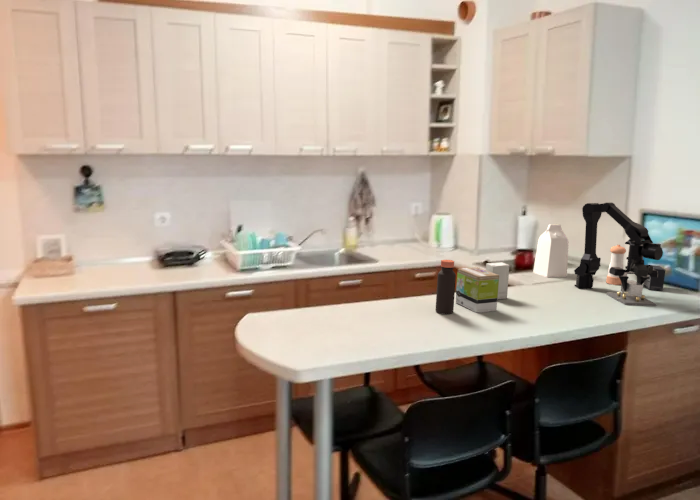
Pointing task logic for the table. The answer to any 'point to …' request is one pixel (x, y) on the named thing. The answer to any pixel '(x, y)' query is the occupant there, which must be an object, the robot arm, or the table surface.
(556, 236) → the milk
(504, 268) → the skincare box
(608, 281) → the pepper shaker
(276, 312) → the table surface
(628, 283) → the block
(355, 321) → the table surface
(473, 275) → the tea box
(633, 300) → the pin tray
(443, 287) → the bottle
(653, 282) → the small box
